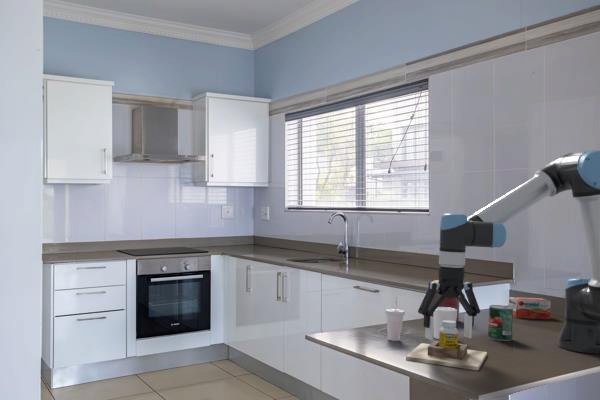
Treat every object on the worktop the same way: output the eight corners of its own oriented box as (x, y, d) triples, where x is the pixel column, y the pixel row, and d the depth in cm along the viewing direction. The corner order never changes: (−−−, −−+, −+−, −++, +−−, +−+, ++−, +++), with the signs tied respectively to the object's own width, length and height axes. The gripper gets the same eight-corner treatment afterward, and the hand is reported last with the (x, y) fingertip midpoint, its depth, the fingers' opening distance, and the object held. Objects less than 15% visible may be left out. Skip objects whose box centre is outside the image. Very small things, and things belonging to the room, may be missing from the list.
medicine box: (541, 316, 261) (542, 297, 261) (550, 319, 253) (551, 300, 253) (507, 315, 260) (508, 296, 260) (516, 318, 252) (517, 299, 252)
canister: (462, 324, 232) (464, 278, 233) (429, 322, 233) (431, 276, 233) (454, 317, 245) (456, 274, 246) (422, 316, 246) (424, 273, 246)
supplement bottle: (452, 351, 180) (453, 319, 180) (460, 356, 175) (462, 323, 175) (435, 351, 179) (436, 319, 179) (443, 356, 174) (445, 323, 174)
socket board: (486, 355, 182) (487, 343, 182) (478, 370, 164) (478, 357, 164) (421, 346, 190) (421, 335, 190) (405, 359, 172) (406, 347, 172)
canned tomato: (483, 337, 208) (485, 306, 208) (493, 335, 214) (495, 304, 214) (505, 342, 203) (507, 309, 203) (515, 339, 208) (517, 307, 209)
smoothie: (405, 339, 200) (407, 297, 200) (400, 342, 194) (402, 299, 194) (387, 336, 202) (389, 295, 202) (381, 340, 196) (383, 297, 197)
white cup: (456, 341, 200) (457, 311, 200) (432, 339, 201) (433, 309, 201) (455, 337, 207) (456, 308, 207) (431, 335, 209) (433, 306, 209)
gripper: (478, 265, 185) (475, 333, 185) (408, 264, 176) (405, 336, 176) (494, 267, 178) (491, 339, 178) (422, 267, 169) (419, 342, 169)
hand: (448, 338), depth 177 cm, fingers open, 13 cm apart
